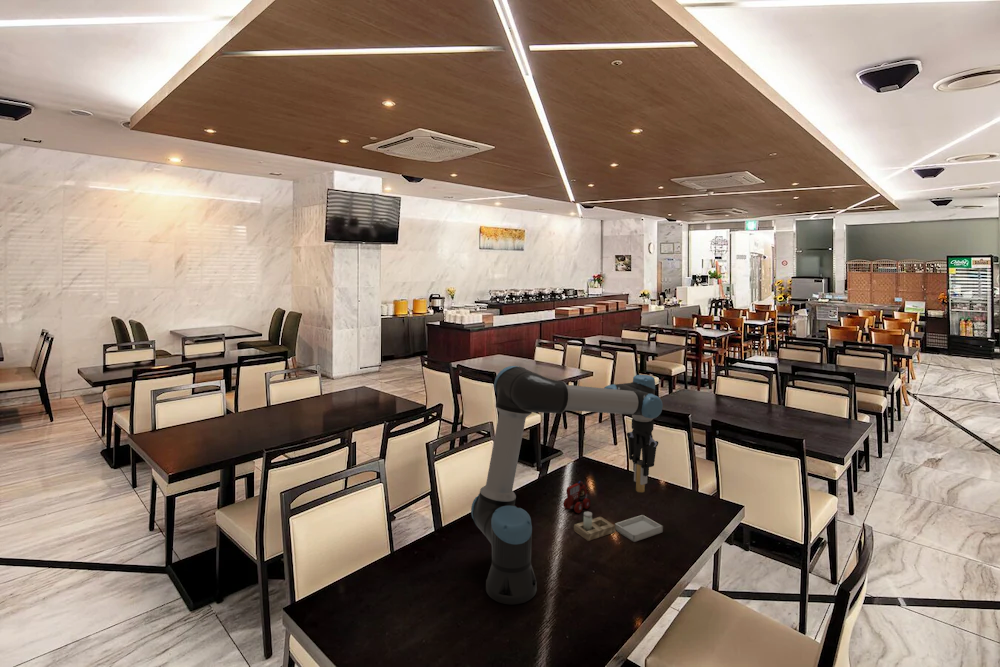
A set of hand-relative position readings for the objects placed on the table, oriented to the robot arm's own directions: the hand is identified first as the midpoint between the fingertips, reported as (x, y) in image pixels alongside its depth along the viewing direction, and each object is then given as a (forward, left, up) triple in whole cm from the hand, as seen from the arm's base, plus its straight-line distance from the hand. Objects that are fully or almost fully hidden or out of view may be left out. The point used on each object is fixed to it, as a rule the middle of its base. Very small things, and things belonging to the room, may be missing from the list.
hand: (640, 482), depth 186 cm
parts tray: (0, 0, -19) cm, 19 cm away
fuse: (-18, +8, -19) cm, 27 cm away
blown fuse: (0, 0, -3) cm, 3 cm away
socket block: (-14, +8, -19) cm, 25 cm away
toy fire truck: (-8, +26, -19) cm, 33 cm away
